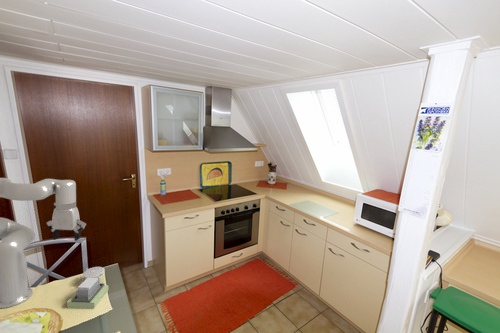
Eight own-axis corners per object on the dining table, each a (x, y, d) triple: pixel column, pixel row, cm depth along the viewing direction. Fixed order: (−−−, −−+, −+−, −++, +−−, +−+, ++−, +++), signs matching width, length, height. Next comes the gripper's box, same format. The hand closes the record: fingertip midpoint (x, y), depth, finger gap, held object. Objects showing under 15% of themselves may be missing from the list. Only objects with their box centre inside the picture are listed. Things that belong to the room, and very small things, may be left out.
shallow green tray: (67, 307, 103) (66, 300, 103) (84, 289, 115) (83, 282, 115) (94, 308, 104) (94, 300, 104) (108, 290, 116) (108, 283, 116)
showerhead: (93, 263, 126) (108, 267, 124) (93, 275, 127) (108, 278, 125) (77, 273, 116) (93, 277, 115) (77, 285, 118) (93, 290, 116)
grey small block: (77, 299, 105) (76, 287, 104) (89, 286, 114) (89, 275, 113) (88, 299, 105) (88, 288, 104) (99, 286, 114) (99, 276, 113)
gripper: (40, 207, 103) (41, 241, 105) (80, 209, 104) (80, 243, 107) (53, 202, 110) (54, 234, 112) (90, 204, 112) (90, 236, 114)
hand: (67, 238), depth 110 cm, fingers open, 9 cm apart
